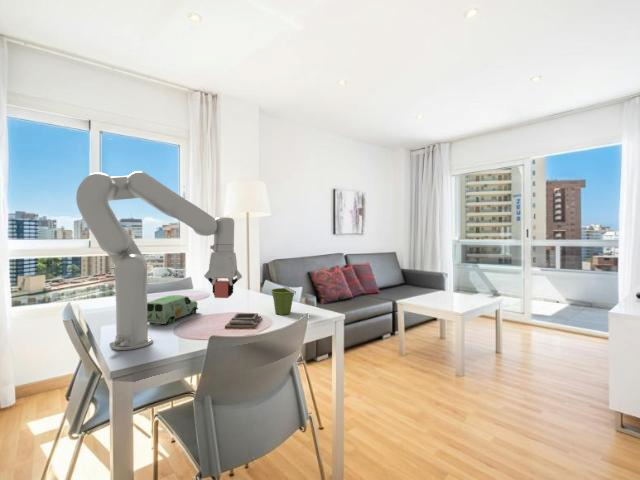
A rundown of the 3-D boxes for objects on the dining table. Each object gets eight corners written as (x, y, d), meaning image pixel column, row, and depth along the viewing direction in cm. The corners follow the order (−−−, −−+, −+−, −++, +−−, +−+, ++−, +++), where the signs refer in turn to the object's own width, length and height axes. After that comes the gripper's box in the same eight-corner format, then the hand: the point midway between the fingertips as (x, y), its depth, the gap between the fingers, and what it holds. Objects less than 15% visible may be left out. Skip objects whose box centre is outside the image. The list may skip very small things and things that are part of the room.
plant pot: (276, 317, 152) (276, 293, 152) (267, 312, 162) (267, 289, 162) (299, 314, 158) (299, 291, 158) (289, 309, 168) (289, 287, 168)
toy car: (198, 312, 161) (198, 292, 160) (164, 327, 137) (164, 303, 136) (179, 311, 163) (179, 291, 163) (142, 325, 139) (141, 302, 139)
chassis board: (254, 328, 135) (254, 322, 135) (224, 328, 135) (224, 322, 135) (261, 318, 151) (261, 312, 151) (234, 318, 151) (234, 312, 151)
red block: (227, 298, 128) (227, 282, 128) (214, 297, 128) (214, 282, 128) (230, 295, 133) (231, 280, 133) (218, 295, 133) (218, 280, 133)
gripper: (198, 248, 126) (197, 296, 127) (243, 250, 126) (242, 297, 127) (205, 247, 134) (204, 292, 134) (247, 249, 134) (246, 293, 134)
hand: (222, 294), depth 130 cm, fingers closed on red block, 5 cm apart
